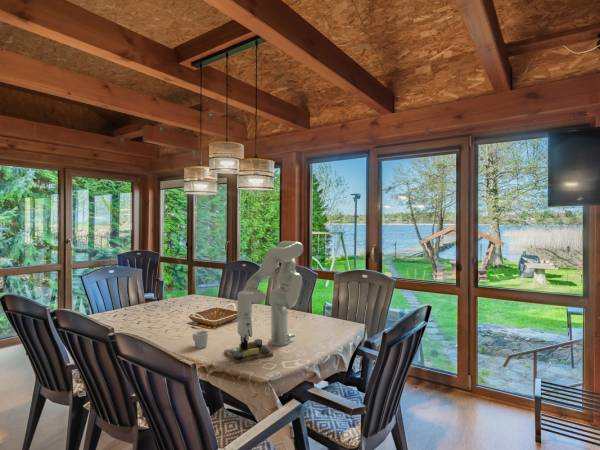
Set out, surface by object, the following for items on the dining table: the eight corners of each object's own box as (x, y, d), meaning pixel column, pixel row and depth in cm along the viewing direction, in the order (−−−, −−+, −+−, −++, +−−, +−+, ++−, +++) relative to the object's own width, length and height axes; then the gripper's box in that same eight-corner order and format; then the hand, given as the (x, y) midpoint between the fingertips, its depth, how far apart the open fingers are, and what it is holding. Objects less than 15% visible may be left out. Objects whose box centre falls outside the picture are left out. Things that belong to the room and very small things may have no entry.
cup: (187, 346, 201) (187, 332, 201) (198, 342, 208) (198, 328, 207) (200, 350, 195) (200, 336, 195) (211, 346, 202) (211, 332, 201)
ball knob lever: (260, 343, 199) (260, 338, 199) (263, 346, 195) (263, 340, 195) (238, 348, 193) (238, 342, 193) (241, 350, 189) (240, 345, 189)
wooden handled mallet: (235, 359, 177) (235, 353, 177) (232, 356, 181) (232, 351, 181) (259, 354, 183) (259, 348, 183) (256, 351, 187) (256, 346, 187)
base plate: (259, 345, 202) (259, 339, 202) (273, 355, 187) (273, 349, 186) (224, 352, 191) (224, 346, 191) (235, 364, 176) (235, 357, 176)
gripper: (256, 317, 183) (256, 352, 183) (245, 310, 196) (245, 343, 196) (242, 319, 179) (242, 355, 179) (232, 312, 192) (232, 346, 192)
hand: (244, 349), depth 188 cm, fingers closed
